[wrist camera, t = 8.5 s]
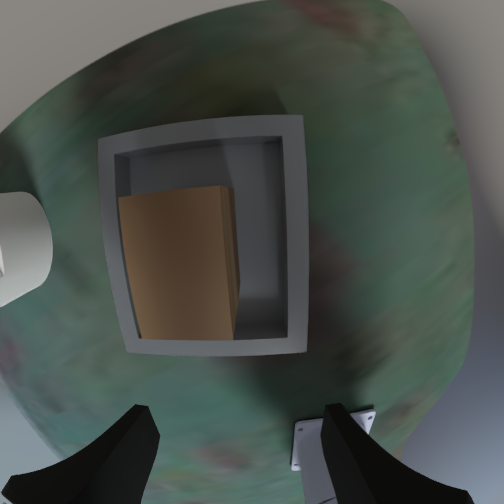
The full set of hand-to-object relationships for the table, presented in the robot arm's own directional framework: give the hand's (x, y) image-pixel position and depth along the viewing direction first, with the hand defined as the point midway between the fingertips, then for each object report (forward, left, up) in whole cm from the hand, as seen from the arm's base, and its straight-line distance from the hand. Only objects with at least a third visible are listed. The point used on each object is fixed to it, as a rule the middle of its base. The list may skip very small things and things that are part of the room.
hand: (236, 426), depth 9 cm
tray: (+6, +2, -10) cm, 12 cm away
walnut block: (+6, +2, -9) cm, 11 cm away
